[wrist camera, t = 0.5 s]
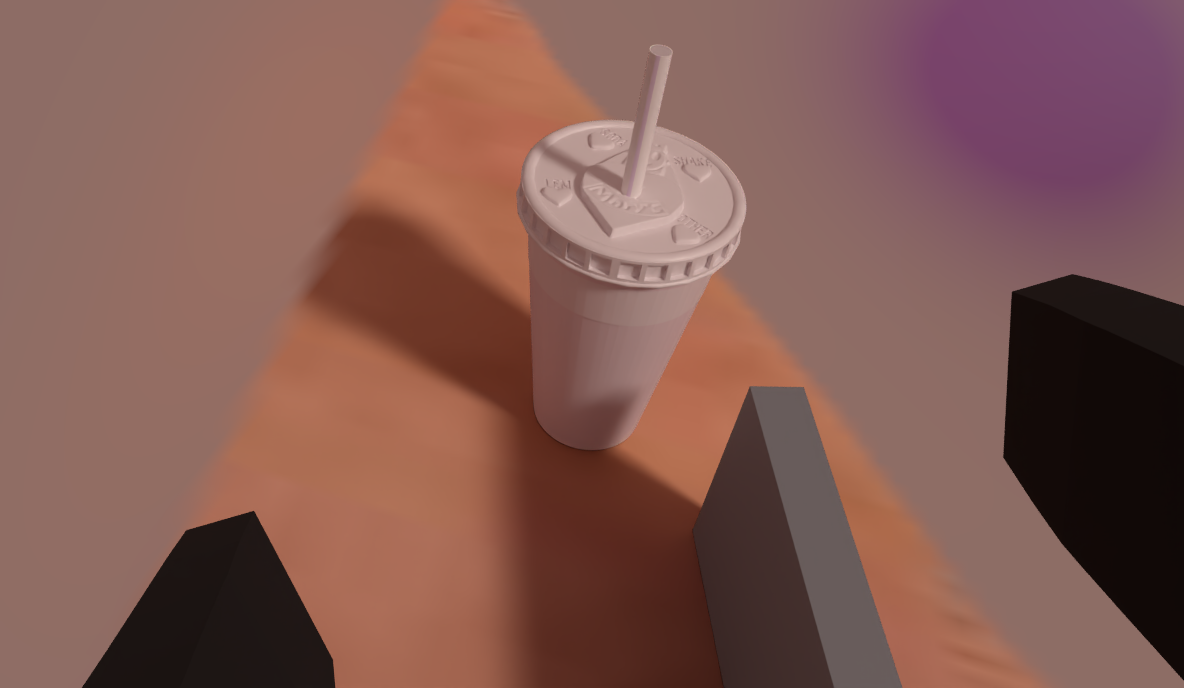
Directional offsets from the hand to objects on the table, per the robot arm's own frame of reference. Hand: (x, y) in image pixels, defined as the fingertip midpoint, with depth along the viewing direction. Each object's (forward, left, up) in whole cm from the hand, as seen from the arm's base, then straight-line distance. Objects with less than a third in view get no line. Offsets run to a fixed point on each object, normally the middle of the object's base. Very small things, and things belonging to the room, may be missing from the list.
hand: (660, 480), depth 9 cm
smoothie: (+16, -3, -18) cm, 25 cm away
